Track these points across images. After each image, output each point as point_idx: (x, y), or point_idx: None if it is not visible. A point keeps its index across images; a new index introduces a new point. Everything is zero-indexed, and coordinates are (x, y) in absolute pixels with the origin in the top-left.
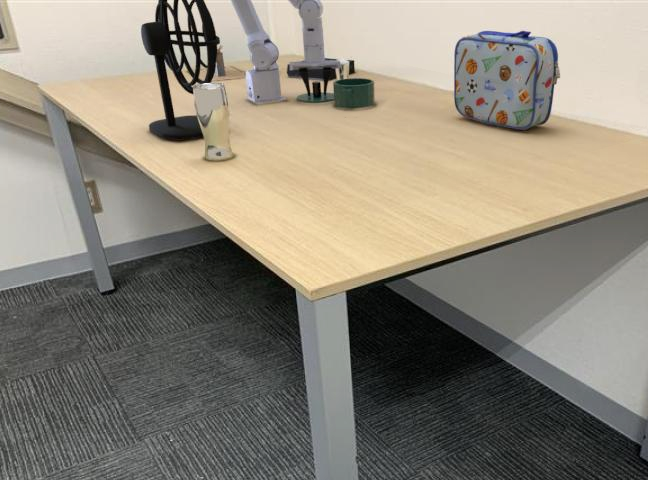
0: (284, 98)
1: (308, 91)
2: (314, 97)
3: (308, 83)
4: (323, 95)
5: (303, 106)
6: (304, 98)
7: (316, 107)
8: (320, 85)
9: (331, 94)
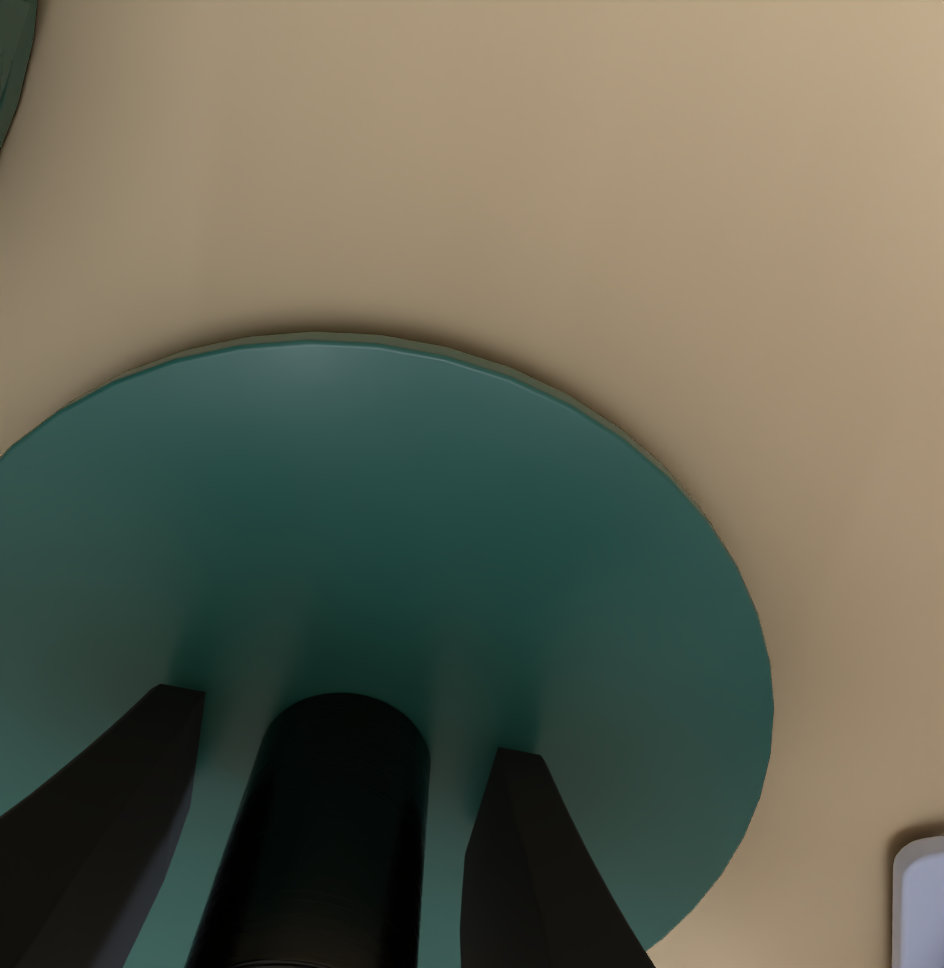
0: (918, 913)
1: (544, 813)
2: (420, 696)
3: (556, 965)
4: (207, 795)
5: (771, 303)
6: (642, 686)
7: (522, 57)
8: (199, 924)
9: None
